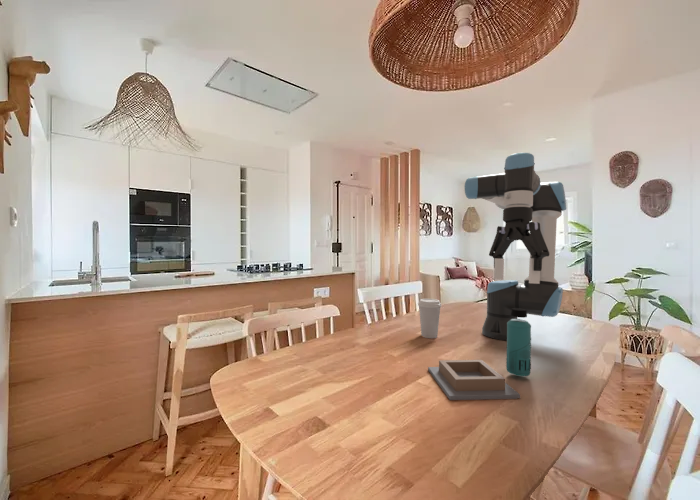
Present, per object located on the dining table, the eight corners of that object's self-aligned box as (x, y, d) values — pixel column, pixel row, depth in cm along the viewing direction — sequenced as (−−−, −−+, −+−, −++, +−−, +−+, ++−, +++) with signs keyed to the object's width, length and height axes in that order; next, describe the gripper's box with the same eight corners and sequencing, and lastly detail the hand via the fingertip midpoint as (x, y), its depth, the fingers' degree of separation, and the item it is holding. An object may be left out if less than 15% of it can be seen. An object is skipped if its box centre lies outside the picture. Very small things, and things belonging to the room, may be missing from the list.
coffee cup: (416, 338, 127) (417, 301, 127) (418, 331, 137) (418, 297, 136) (441, 340, 125) (441, 303, 124) (441, 333, 134) (441, 299, 133)
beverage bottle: (517, 382, 87) (519, 311, 87) (500, 373, 94) (501, 307, 93) (536, 380, 89) (537, 310, 89) (518, 371, 95) (519, 305, 95)
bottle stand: (485, 369, 97) (485, 356, 96) (520, 398, 79) (520, 382, 78) (428, 370, 96) (428, 357, 96) (449, 400, 78) (450, 384, 78)
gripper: (479, 212, 102) (476, 278, 101) (542, 198, 77) (540, 284, 77) (498, 214, 103) (496, 278, 103) (567, 201, 79) (564, 285, 78)
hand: (515, 281), depth 90 cm, fingers open, 13 cm apart
